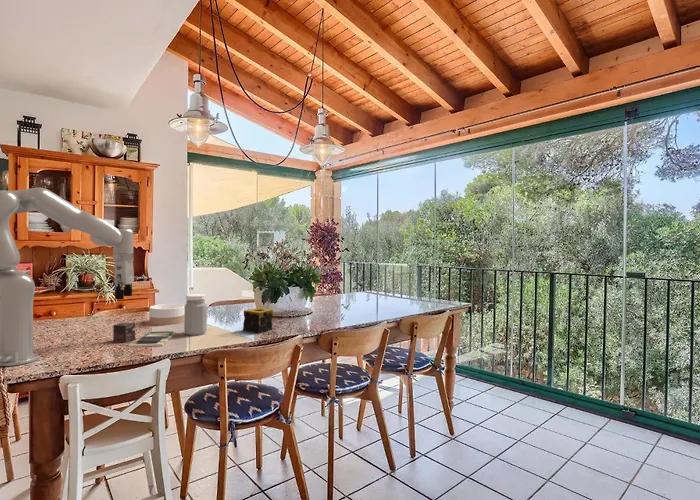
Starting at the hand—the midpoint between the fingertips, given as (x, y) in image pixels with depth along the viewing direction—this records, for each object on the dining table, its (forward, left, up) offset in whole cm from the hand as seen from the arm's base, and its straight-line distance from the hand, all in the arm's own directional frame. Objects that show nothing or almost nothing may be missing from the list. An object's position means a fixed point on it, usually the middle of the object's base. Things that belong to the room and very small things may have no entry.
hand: (123, 297), depth 177 cm
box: (0, 0, -19) cm, 19 cm away
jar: (+11, -27, -19) cm, 35 cm away
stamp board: (0, -12, -19) cm, 22 cm away
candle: (+15, -55, -19) cm, 60 cm away
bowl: (+40, -7, -19) cm, 45 cm away
